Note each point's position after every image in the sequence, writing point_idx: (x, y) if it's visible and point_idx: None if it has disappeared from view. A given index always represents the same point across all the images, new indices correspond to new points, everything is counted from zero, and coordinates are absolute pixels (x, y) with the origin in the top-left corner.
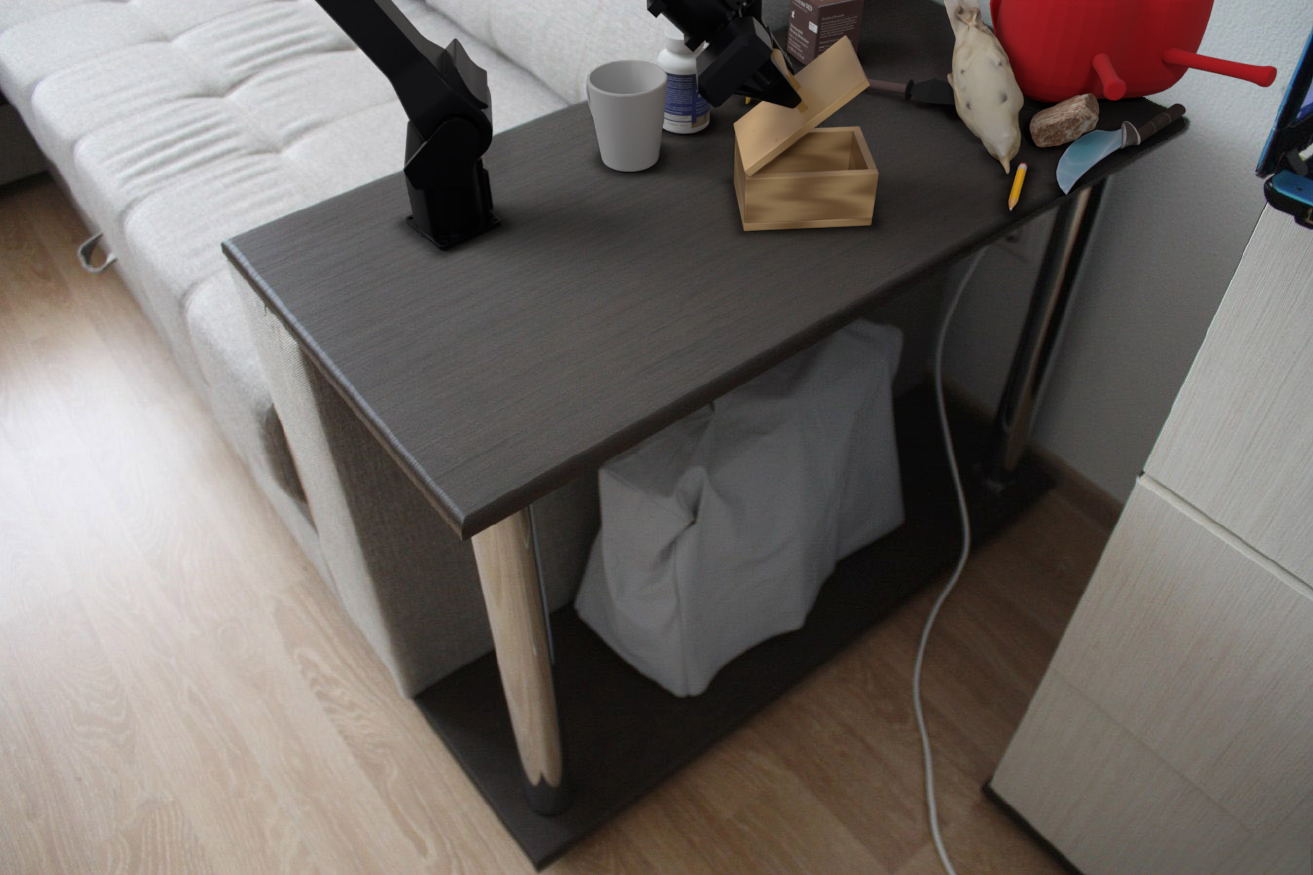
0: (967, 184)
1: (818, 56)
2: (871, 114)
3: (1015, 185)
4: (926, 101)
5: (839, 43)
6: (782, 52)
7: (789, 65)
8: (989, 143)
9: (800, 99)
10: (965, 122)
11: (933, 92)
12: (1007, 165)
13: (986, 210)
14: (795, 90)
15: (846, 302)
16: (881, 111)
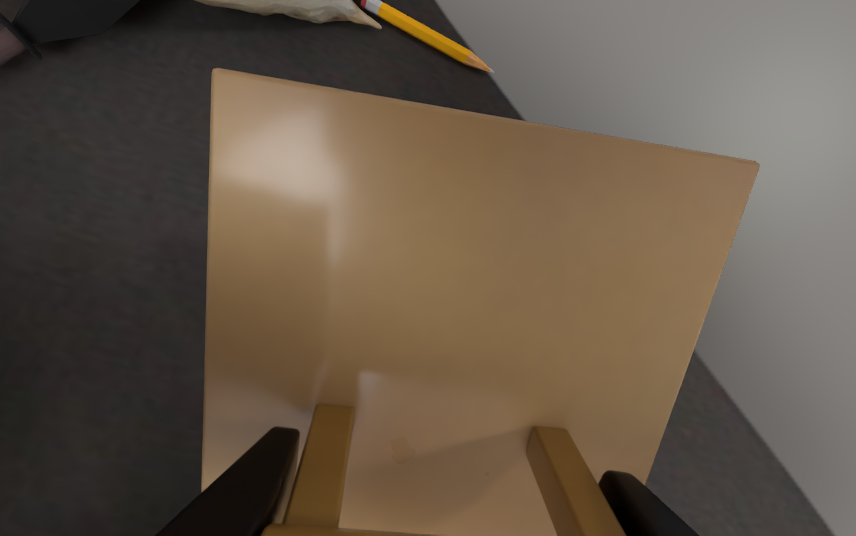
0: (390, 94)
1: (208, 259)
2: (42, 144)
3: (431, 34)
4: (100, 29)
5: (251, 128)
6: (238, 525)
7: (284, 462)
8: (321, 7)
9: (638, 482)
10: (247, 6)
11: (88, 1)
12: (369, 17)
13: (476, 102)
14: (676, 523)
15: (745, 423)
16: (39, 120)
